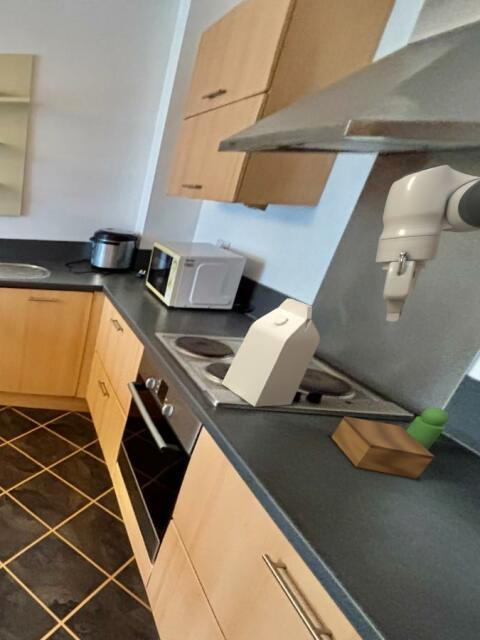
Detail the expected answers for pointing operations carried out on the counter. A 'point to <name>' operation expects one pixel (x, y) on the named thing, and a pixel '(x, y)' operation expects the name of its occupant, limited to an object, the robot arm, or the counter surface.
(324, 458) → the counter surface
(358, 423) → the oak block
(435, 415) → the toy
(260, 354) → the milk
